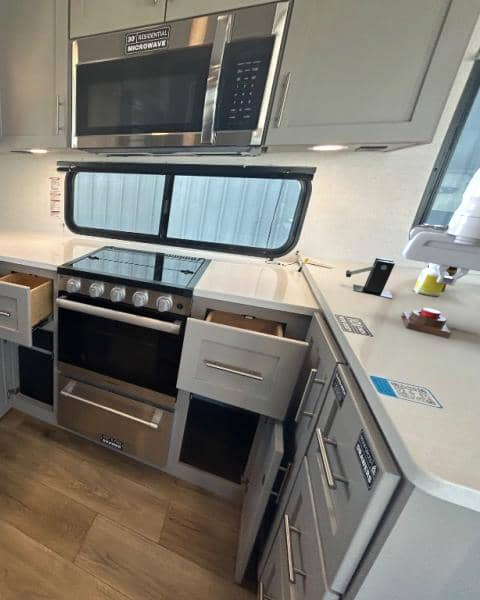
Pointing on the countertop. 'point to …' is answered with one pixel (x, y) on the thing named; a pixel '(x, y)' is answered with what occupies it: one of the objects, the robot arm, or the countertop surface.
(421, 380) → the countertop surface
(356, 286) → the switch bracket
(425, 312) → the button
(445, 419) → the countertop surface
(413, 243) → the robot arm
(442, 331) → the button block
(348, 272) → the switch lever
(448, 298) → the countertop surface
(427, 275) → the pill bottle
